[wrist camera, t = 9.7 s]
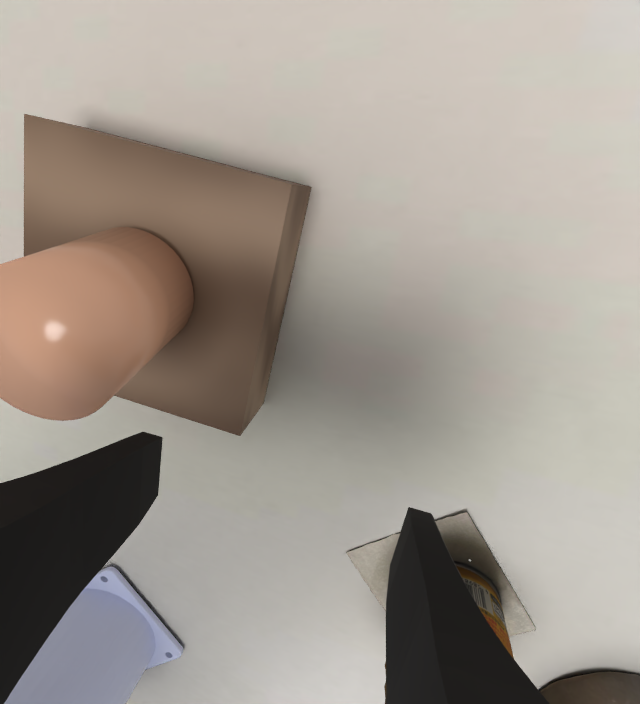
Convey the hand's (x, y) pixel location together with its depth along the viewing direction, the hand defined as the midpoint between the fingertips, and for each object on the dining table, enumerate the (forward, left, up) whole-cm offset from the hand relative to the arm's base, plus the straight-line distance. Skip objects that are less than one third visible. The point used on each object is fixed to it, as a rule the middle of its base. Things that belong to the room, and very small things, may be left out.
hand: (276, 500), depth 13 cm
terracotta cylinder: (-4, +8, -7) cm, 11 cm away
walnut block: (-4, +8, -11) cm, 14 cm away
